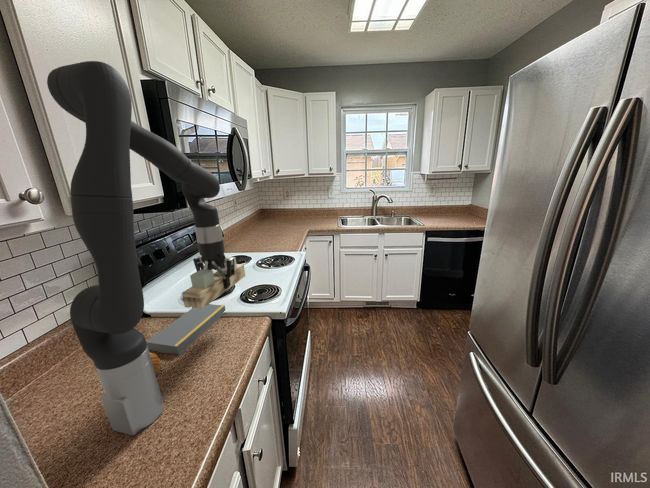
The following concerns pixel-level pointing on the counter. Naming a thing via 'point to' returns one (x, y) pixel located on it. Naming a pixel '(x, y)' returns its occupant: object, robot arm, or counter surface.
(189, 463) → the counter surface
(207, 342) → the counter surface
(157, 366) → the pastry
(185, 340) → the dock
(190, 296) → the beige blocky bar
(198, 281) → the crate sage
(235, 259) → the crate grey
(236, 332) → the counter surface
